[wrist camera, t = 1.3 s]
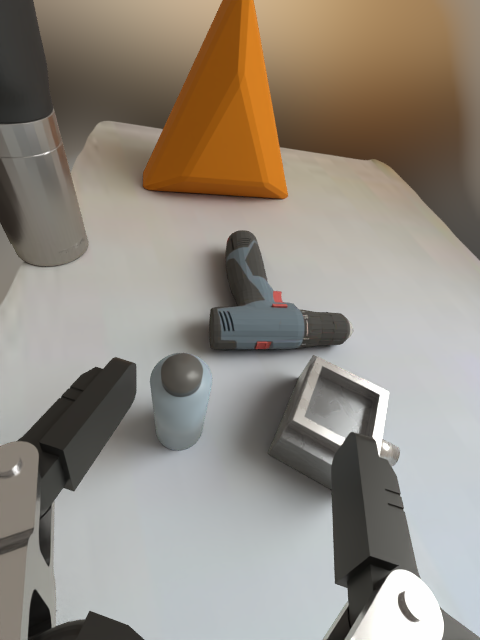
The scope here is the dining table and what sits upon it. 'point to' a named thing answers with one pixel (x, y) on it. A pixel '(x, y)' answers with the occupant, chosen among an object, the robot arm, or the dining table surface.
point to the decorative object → (222, 118)
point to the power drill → (266, 309)
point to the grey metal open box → (329, 419)
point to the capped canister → (180, 399)
